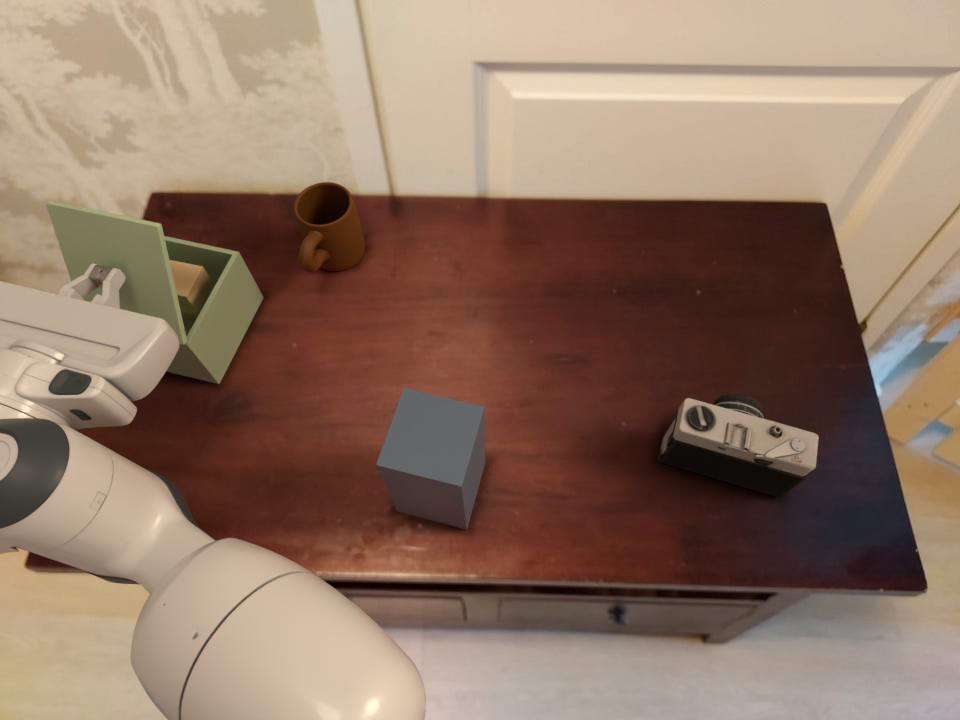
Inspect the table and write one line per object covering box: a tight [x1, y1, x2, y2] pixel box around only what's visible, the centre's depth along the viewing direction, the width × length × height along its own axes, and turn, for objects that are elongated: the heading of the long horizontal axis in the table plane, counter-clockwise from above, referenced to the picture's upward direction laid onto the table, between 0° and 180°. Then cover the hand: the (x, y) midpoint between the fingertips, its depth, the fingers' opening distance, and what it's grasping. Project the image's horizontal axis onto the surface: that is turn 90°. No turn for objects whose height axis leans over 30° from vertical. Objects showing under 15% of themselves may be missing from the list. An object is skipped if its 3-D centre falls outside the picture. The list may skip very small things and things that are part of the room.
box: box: [164, 235, 264, 385], centre depth 79 cm, size 13×12×10 cm
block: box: [170, 260, 215, 328], centre depth 80 cm, size 4×4×8 cm
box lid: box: [45, 200, 187, 345], centre depth 67 cm, size 14×12×1 cm
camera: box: [657, 393, 820, 499], centre depth 70 cm, size 14×9×10 cm, turn 64°
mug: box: [293, 181, 366, 273], centre depth 84 cm, size 12×8×9 cm, turn 167°
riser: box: [375, 387, 487, 531], centre depth 66 cm, size 8×8×15 cm
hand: (110, 269), depth 66 cm, fingers closed
